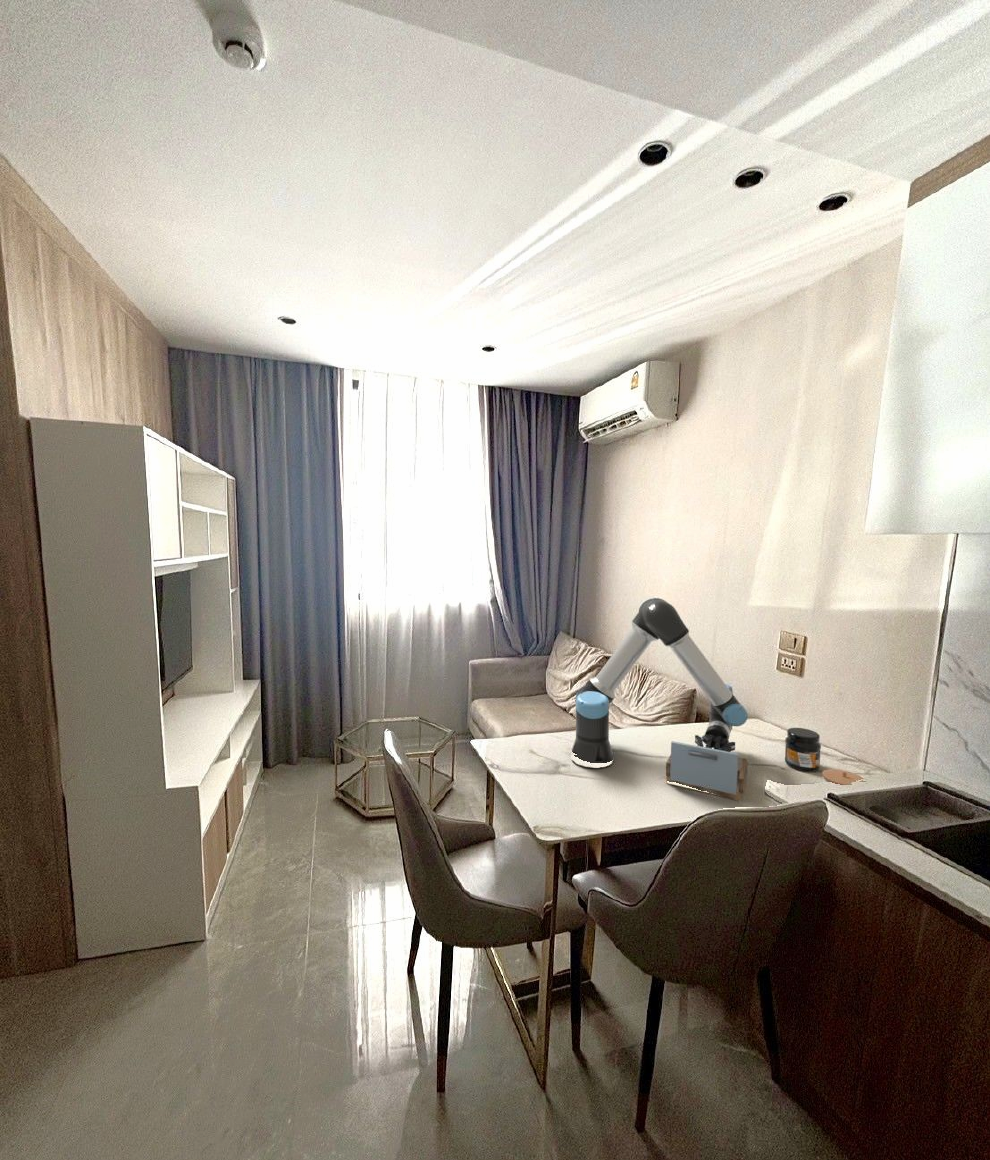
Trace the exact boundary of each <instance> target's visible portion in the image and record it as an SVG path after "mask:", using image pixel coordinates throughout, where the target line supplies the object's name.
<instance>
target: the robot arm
mask: <svg viewBox="0 0 990 1160" xmlns="http://www.w3.org/2000/svg"><path fill="white" fill-rule="evenodd" d="M631 626H632V627H631V629H630V630H629V632H628V633H627V635H625V637H624V639H623V640H622V641H621V642H620V643H619V645H618V647H617V648H616V649H615V651H614V652H613V653H612V655H611V656H610V657H609V659H608V660H607V662H606V663H605V664H604V665H603V667H602V669H600V671H599V673H597V675H596V676H595V677H590V678H589V679H588V680H587V682H586V683H585V684H584V685H582V686H581V687H580V688H579V689H578V691H577V692H576V694H575V699H574V701H575V704H574V705H575V739H574V742H573V745H572V748H571V751H572V752H573V753H575V754H577V755H574V756H575V757H578V758H579V759H581V760H583V761H587V762H590V763H607V762H610V761H612V760H613V758H614V756H615V755H614V751H613V750H612V746H611V744H610V739H609V738H610V733H609V732H610V730H609V729H610V728H609V727H610V718H609V717H610V706H611V704H612V702H613V701H614V699H616V693H615V692H616V690H617V689H618V687H619V685H620V684H621V683H622V682H623V680H624V679H625V677H627V675H628V674H629V673H630V672H631V670H632V668H633V667H634V666H635V665H636V663H637V662H638V660H639V659H640V658H641V656H642V655H643V654H644V653H645V651H646V650H647V648H648V647H649V646H650V644H651V643H652V642H654V641H656V642H657V641H658V640H660V641H661V643H662V644H663V645H664V646H665V647H669V648H670V649H671V650H672V652H673V653H674V655H675V656H676V658H678V660H679V661H680V663H681V664H682V665H683V667H684V668H685V669H686V671H687V672H688V674H689V675H690V676H691V677H692V679H693V680H694V681H695V682H696V684H697V685H698V687H699V688H700V690H701V691H702V692H703V694H704V695H705V696H706V697H707V698H708V700H709V720H708V721H709V723H708V725H707V728H706V730H705V732H704V735H701V736H700V735H698V734H695V735H694V743H695V745H696V746H701V747H706V748H711V749H717V750H722V751H727V752H733V751H736V742H735V741H731V742H730V736H731V732H732V730H733V727H741V726H743V725H744V724H746V723H747V721H748V712H747V710H746V708H745V707H744V706H743V705H742V704H741V703H740V702H739V699H737V697H735V695H734V692H733V687H732V686H731V685H729V684H726V683H725V682H724V680H723V679H722V678H721V677H720V675H719V674H718V672H717V671H716V669H715V668H714V666H712V664H711V663H710V662H709V660H708V659H707V658H706V656H705V655H704V654H703V652H702V651H701V650H700V649H699V647H698V645H697V644H696V643H695V641H694V640H693V638H691V636H690V629H688V627H687V626H686V624H685V623H684V621H683V619H682V618H681V616H680V614H679V612H678V611H677V609H676V608H675V607H674V606H673V605H672V604H671V603H668V601H666V600H664V599H663V598H659V597H652V598H648V599H645V600H644V601H643V602H642V603H641V605H640V607H639V608H638V612H637V614H636V615H635V616H634V618H633V619H632V621H631ZM704 744H705V746H704ZM614 759H615V758H614Z"/></svg>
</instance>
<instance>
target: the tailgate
mask: <svg viewBox="0 0 990 1160" xmlns="http://www.w3.org/2000/svg"><path fill="white" fill-rule="evenodd" d="M670 755H671V770H670V780H674V781H679V782H683V783H687V784H692V785H696V786H700V787H705V788H709V789H713V790H718V791H722V792H726V793H731V794H735V795H736V794H737V771H738V767H739V766H738V765H739V761H738V760H739V753H736V752H733V751H731V752H727V751H722V750H717V749H714V748H712V749H711V748H706V746H704V747H701V746H698V745H697V744H695V745H694V744H690V743H684V742H680V741H679V742H678V741H673V740H671V742H670Z"/></svg>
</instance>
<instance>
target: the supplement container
mask: <svg viewBox="0 0 990 1160" xmlns="http://www.w3.org/2000/svg"><path fill="white" fill-rule="evenodd" d="M786 735H787V736H786V737H785V739H784V740H785V746H784V747H785V748H784V749H785V753H784V754H785V756H784V762H785V764H786V765H787V766H789V767H790V768H792V769H795V770H797V771H802V772H806V773H807V772H808V773H811V772H816V771H819V770H820V768H821V748H822V745H821V743H820V740H821V739H820V737H821V735H820V734H819V733H818V732H817V731H814V730H811V729H808V728H803V727H790V728H788V729H787V730H786Z"/></svg>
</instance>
